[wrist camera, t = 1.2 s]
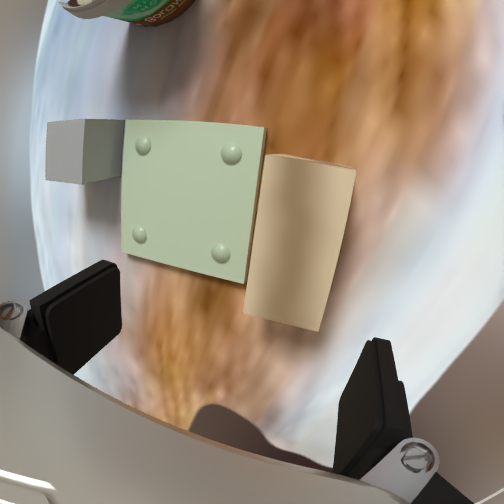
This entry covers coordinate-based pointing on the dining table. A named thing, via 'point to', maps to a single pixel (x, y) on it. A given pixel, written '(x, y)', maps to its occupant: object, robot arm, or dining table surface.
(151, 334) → the dining table surface
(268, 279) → the beech block
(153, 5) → the food container
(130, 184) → the baseplate
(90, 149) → the grey cube
